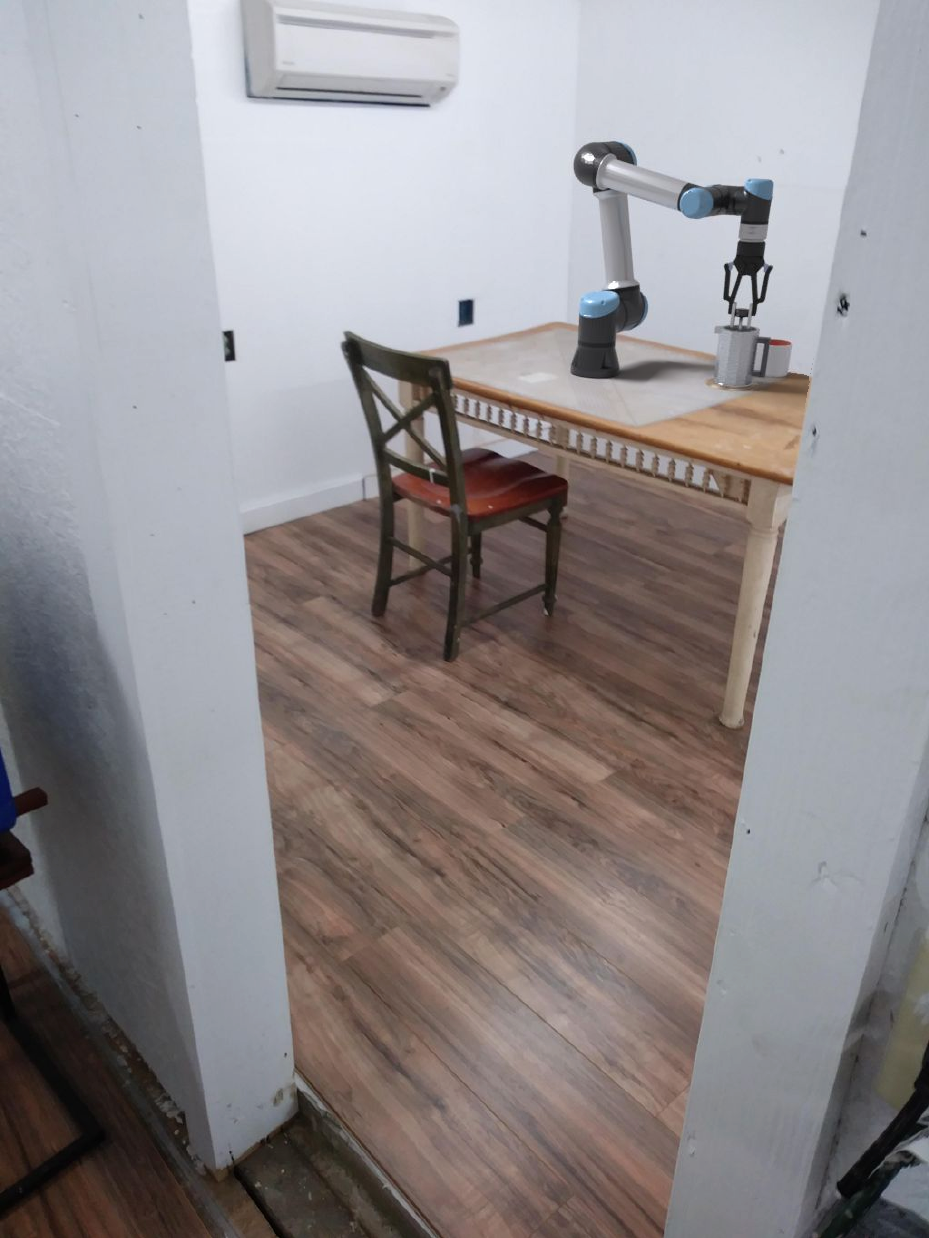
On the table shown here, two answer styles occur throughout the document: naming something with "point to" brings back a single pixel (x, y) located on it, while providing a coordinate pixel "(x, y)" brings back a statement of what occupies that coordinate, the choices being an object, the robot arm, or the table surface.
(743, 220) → the robot arm
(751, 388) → the trivet
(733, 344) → the carafe
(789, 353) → the cup
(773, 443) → the table surface
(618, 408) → the table surface
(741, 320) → the plunger
